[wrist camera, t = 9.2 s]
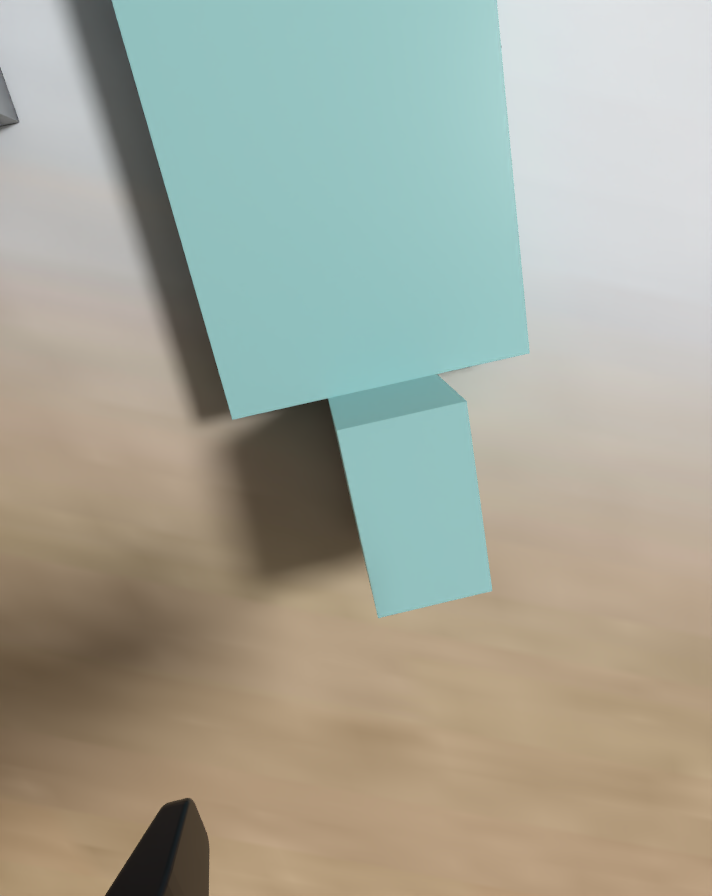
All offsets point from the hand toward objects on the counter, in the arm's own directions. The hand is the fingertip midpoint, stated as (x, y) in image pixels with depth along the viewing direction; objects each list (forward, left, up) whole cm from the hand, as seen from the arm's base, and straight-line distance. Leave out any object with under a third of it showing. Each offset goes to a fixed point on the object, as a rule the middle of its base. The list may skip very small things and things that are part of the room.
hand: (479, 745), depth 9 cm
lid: (+1, +7, -13) cm, 15 cm away
